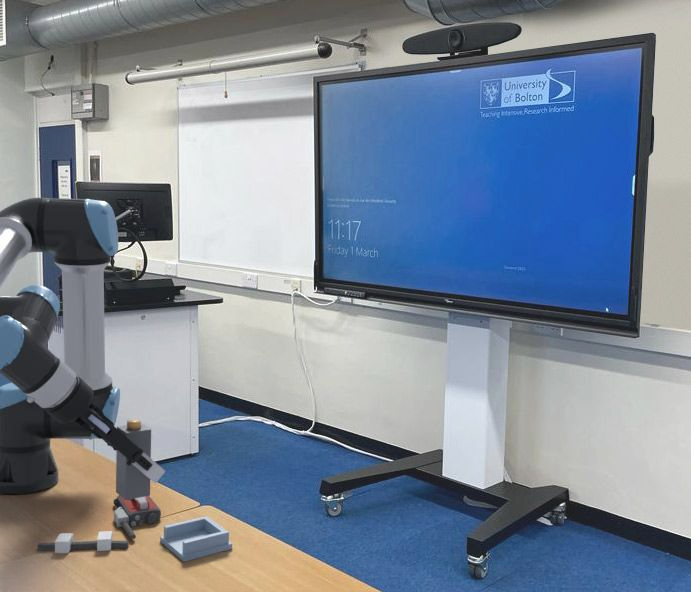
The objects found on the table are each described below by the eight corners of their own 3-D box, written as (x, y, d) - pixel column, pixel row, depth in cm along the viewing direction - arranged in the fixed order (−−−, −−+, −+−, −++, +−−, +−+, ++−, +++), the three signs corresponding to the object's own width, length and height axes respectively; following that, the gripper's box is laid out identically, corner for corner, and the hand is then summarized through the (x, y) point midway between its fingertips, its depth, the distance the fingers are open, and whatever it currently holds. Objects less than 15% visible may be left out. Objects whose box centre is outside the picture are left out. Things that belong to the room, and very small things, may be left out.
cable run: (39, 545, 143) (38, 534, 142) (129, 541, 146) (129, 530, 146) (35, 554, 139) (35, 543, 139) (128, 550, 142) (128, 538, 142)
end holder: (160, 541, 146) (160, 525, 146) (207, 530, 153) (207, 514, 152) (183, 561, 139) (183, 544, 138) (232, 548, 145) (232, 532, 144)
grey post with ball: (115, 492, 136) (116, 419, 135) (140, 487, 139) (141, 416, 138) (125, 500, 133) (126, 426, 131) (150, 495, 136) (151, 422, 134)
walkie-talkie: (103, 508, 162) (127, 545, 145) (104, 488, 162) (128, 523, 145) (145, 501, 167) (173, 537, 150) (145, 482, 166) (173, 515, 149)
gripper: (29, 398, 132) (121, 474, 144) (60, 423, 118) (159, 505, 130) (60, 365, 135) (148, 443, 146) (95, 386, 121) (189, 470, 132)
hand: (153, 472), depth 138 cm, fingers closed on grey post with ball, 4 cm apart
